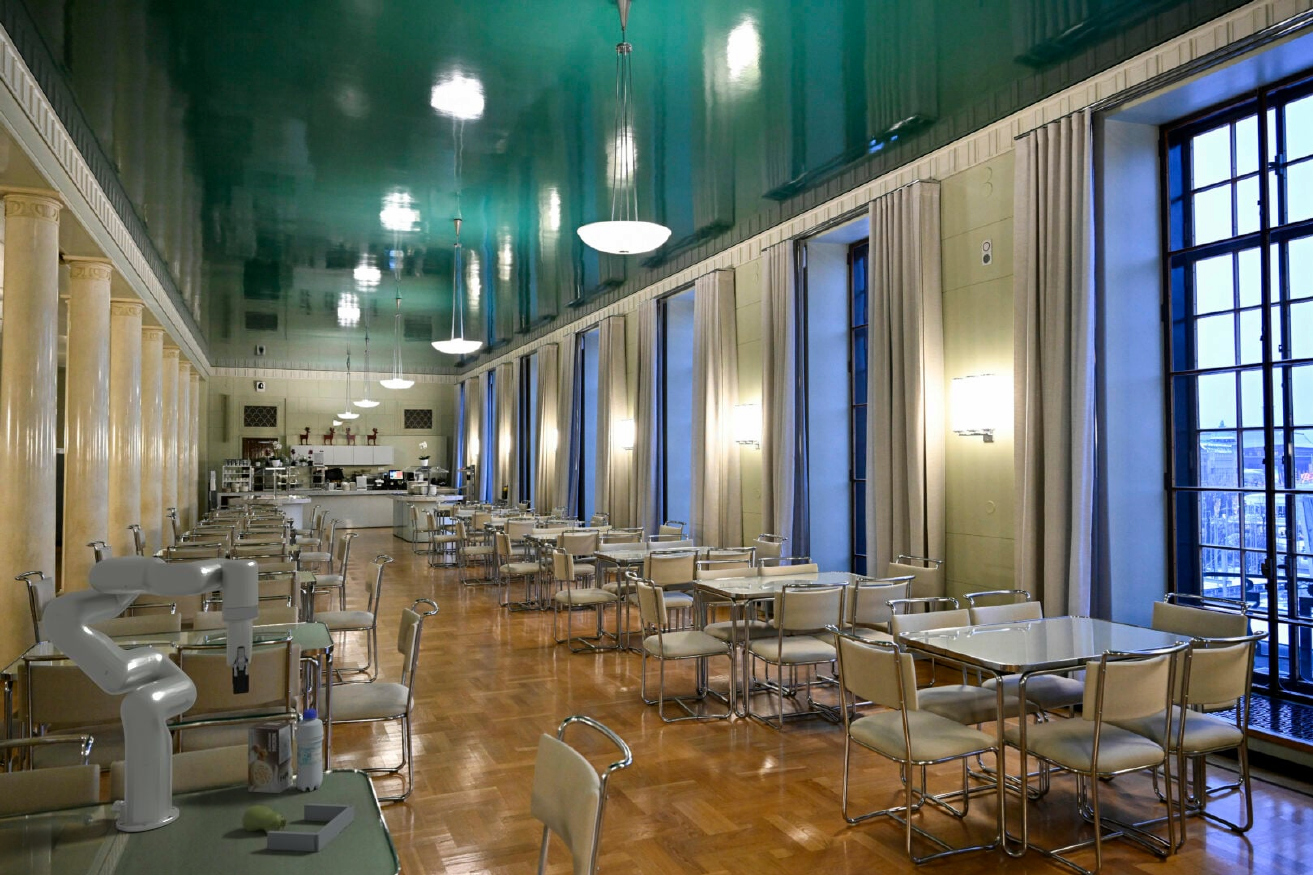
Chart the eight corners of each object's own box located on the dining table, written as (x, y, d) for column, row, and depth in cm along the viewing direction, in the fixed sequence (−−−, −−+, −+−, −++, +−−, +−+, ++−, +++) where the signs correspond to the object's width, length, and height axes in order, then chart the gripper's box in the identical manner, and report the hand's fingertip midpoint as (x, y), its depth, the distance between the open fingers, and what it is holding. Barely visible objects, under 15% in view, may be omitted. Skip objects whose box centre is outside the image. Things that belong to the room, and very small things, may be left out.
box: (267, 849, 182) (267, 832, 182) (306, 818, 198) (306, 803, 198) (318, 851, 181) (318, 834, 181) (354, 820, 196) (354, 805, 197)
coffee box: (294, 784, 219) (294, 721, 220) (279, 793, 213) (279, 729, 214) (262, 782, 221) (262, 720, 221) (246, 791, 215) (246, 727, 215)
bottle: (313, 793, 213) (313, 713, 214) (289, 792, 214) (290, 712, 215) (328, 784, 219) (329, 706, 220) (305, 782, 221) (306, 704, 221)
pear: (255, 799, 195) (293, 809, 193) (251, 821, 195) (289, 832, 193) (238, 808, 190) (277, 819, 188) (234, 831, 190) (273, 843, 188)
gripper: (221, 610, 201) (221, 682, 201) (222, 620, 186) (222, 699, 185) (256, 607, 205) (256, 678, 204) (260, 617, 190) (260, 694, 189)
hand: (240, 688), depth 195 cm, fingers open, 9 cm apart
